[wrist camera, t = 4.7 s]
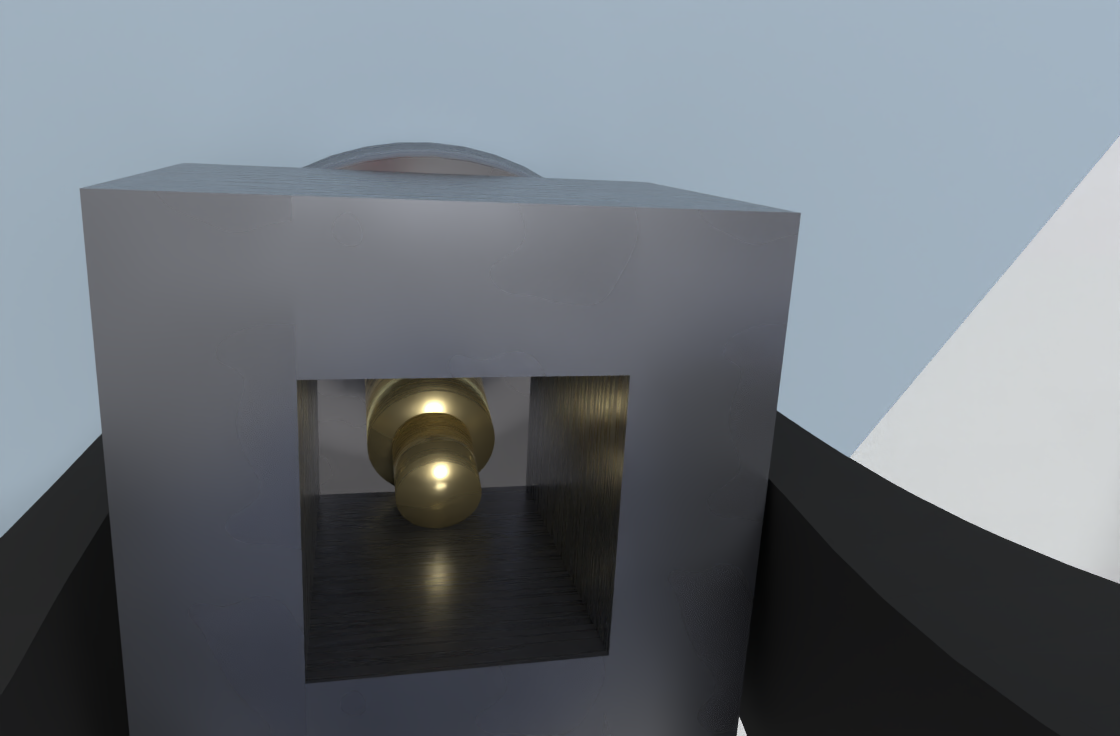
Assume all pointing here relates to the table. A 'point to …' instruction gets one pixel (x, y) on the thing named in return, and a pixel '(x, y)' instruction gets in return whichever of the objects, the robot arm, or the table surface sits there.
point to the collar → (373, 518)
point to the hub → (424, 396)
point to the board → (570, 149)
